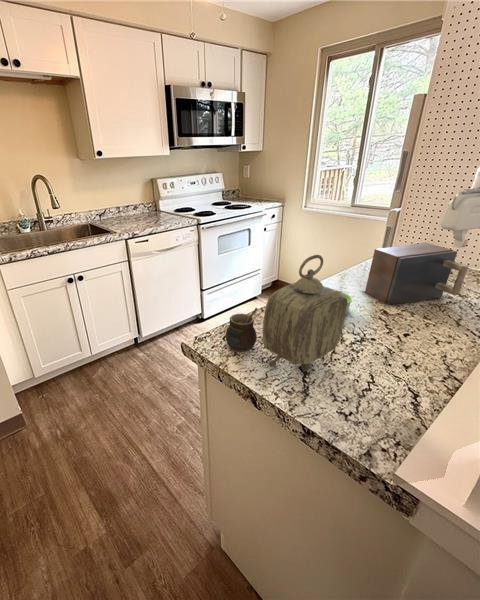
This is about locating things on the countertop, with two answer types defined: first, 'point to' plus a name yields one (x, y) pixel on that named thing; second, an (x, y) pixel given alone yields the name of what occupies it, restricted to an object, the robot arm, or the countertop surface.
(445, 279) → the cupboard door
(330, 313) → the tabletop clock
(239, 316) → the mate gourd
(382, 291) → the cupboard
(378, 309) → the countertop surface
